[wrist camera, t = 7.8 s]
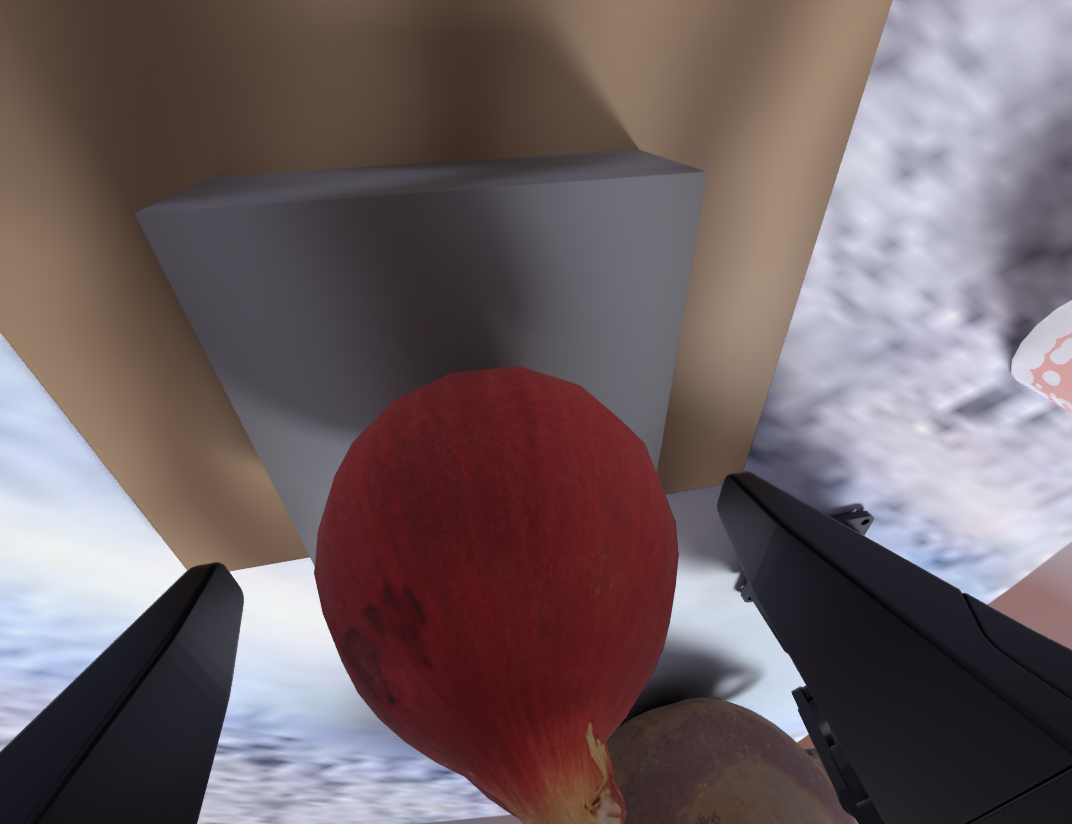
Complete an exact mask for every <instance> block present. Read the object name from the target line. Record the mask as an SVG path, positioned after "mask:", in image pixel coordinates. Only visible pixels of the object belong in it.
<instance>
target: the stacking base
mask: <svg viewBox="0 0 1072 824" xmlns="http://www.w3.org/2000/svg"><path fill="white" fill-rule="evenodd" d="M891 3H892V0H0V332H1V334H2V335H3V336H4V337H5V339H6V340H7V341H8V342H9V344H10V345H11V346H12V348H13V349H14V350H15V351H16V353H17V354H18V355H19V356H20V358H21V359H22V360H23V362H24V363H25V364H26V365H27V367H28V368H29V369H30V370H31V372H32V373H33V374H34V376H35V377H36V378H37V379H38V381H39V382H40V383H41V385H42V386H43V387H44V388H45V390H46V391H47V392H48V393H49V395H50V396H51V397H52V399H53V400H54V401H55V402H56V404H57V405H58V406H59V407H60V409H61V410H62V411H63V413H64V414H65V415H66V416H67V418H68V419H69V420H70V421H71V423H72V424H73V425H74V427H75V428H76V429H77V430H78V432H79V433H80V434H81V435H82V437H83V438H84V439H85V441H86V442H87V443H88V444H89V446H90V447H91V448H92V450H93V451H94V452H95V453H96V455H97V456H98V457H99V458H100V460H101V461H102V462H103V464H104V465H105V466H106V467H107V469H108V470H109V471H110V472H111V474H112V475H113V476H114V478H115V479H116V480H117V481H118V483H119V484H120V485H121V486H122V488H123V489H124V490H125V492H126V493H127V494H128V495H129V497H130V498H131V499H132V500H133V502H134V503H135V504H136V506H137V507H138V508H139V509H140V511H141V512H142V513H143V515H144V516H145V517H146V518H147V520H148V521H149V522H150V523H151V525H152V526H153V527H154V529H155V530H156V531H157V532H158V534H159V535H160V536H161V537H162V539H163V540H164V541H165V543H166V544H167V545H168V546H169V548H170V549H171V550H172V551H173V553H174V554H175V555H176V557H177V558H178V559H179V560H180V562H181V563H182V564H183V566H184V567H185V568H186V569H187V571H188V570H189V569H190V568H192V567H194V566H197V565H202V564H208V563H214V562H220V563H222V564H224V565H225V566H226V568H227V569H228V570H229V571H234V570H240V569H246V568H251V567H257V566H263V565H268V564H274V563H280V562H285V561H291V560H297V559H302V558H308V557H310V558H311V560H312V562H313V564H314V566H315V558H316V545H317V533H318V529H319V525H320V522H321V519H322V515H323V512H324V509H325V506H326V502H327V499H328V496H329V493H330V489H331V486H332V483H333V479H334V476H335V474H336V472H337V470H338V468H339V466H340V464H341V463H342V461H343V459H344V457H345V455H346V453H347V451H348V449H349V448H350V446H351V444H352V442H353V441H354V440H355V439H356V438H357V437H358V436H359V435H360V434H361V433H362V432H363V431H364V430H365V429H366V428H367V427H368V426H369V425H370V424H371V423H372V422H373V421H374V420H375V419H376V418H377V417H378V416H379V415H380V414H381V413H382V412H383V411H384V410H385V409H386V408H387V407H388V406H389V405H390V404H391V403H392V402H393V401H394V400H396V399H398V398H400V397H402V396H404V395H406V394H408V393H410V392H412V391H414V390H416V389H419V388H421V387H423V386H425V385H427V384H429V383H431V382H433V381H436V380H438V379H440V378H442V377H444V376H446V375H448V374H450V373H454V372H464V371H474V370H484V369H494V368H504V367H514V366H522V367H525V368H528V369H531V370H534V371H537V372H540V373H544V374H547V375H550V376H553V377H556V378H559V379H562V380H565V381H568V382H572V383H575V384H578V385H581V386H582V387H583V388H584V389H586V390H587V391H588V392H589V393H590V394H591V395H593V396H594V397H595V398H596V399H597V400H598V401H600V402H601V403H602V404H603V405H604V406H605V407H607V408H608V409H609V410H610V411H611V412H612V413H614V414H615V415H616V416H617V417H618V418H619V419H621V420H622V421H623V422H624V423H625V424H626V425H627V426H628V427H629V428H630V429H631V430H632V431H633V432H634V433H635V434H636V435H637V436H638V437H639V438H640V439H641V440H642V441H643V442H644V443H645V444H646V447H647V450H648V452H649V455H650V457H651V460H652V462H653V465H654V467H655V470H656V473H657V475H658V478H659V480H660V483H661V485H662V488H663V491H664V493H665V494H671V493H677V492H682V491H688V490H694V489H699V488H705V487H711V486H716V485H722V484H723V482H724V479H725V477H726V476H727V475H729V474H732V473H738V472H743V470H744V467H745V464H746V460H747V457H748V454H749V451H750V448H751V445H752V442H753V438H754V435H755V432H756V429H757V426H758V423H759V420H760V416H761V413H762V410H763V407H764V404H765V401H766V397H767V394H768V391H769V388H770V385H771V382H772V379H773V375H774V372H775V369H776V366H777V363H778V360H779V356H780V353H781V350H782V347H783V344H784V341H785V338H786V334H787V331H788V328H789V325H790V322H791V319H792V315H793V312H794V309H795V306H796V303H797V300H798V297H799V293H800V290H801V287H802V284H803V281H804V278H805V274H806V271H807V268H808V265H809V262H810V259H811V256H812V252H813V249H814V246H815V243H816V240H817V237H818V234H819V230H820V227H821V224H822V221H823V218H824V215H825V211H826V208H827V205H828V202H829V199H830V196H831V193H832V189H833V186H834V183H835V180H836V177H837V174H838V170H839V167H840V164H841V161H842V158H843V155H844V152H845V148H846V145H847V142H848V139H849V136H850V133H851V129H852V126H853V123H854V120H855V117H856V114H857V111H858V107H859V104H860V101H861V98H862V95H863V92H864V88H865V85H866V82H867V79H868V76H869V73H870V70H871V66H872V63H873V60H874V57H875V54H876V51H877V48H878V44H879V41H880V38H881V35H882V32H883V29H884V25H885V22H886V19H887V16H888V13H889V10H890V7H891Z"/></svg>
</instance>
